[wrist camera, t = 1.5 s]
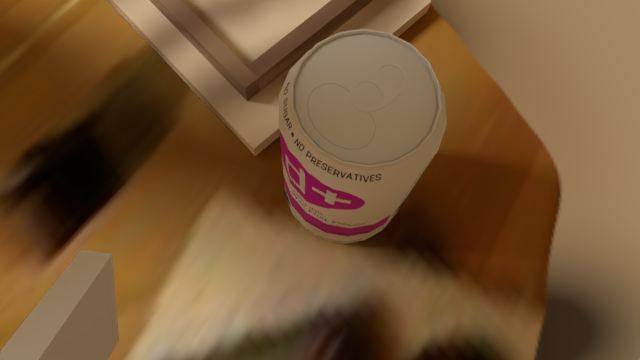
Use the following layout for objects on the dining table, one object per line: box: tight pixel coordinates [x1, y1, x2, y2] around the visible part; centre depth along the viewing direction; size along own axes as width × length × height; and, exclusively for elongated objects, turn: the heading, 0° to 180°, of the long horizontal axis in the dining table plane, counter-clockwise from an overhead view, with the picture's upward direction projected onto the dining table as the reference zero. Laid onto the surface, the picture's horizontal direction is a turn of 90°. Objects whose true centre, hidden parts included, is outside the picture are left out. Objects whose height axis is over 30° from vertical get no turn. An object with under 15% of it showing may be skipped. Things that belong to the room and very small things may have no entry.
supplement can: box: [279, 29, 447, 244], centre depth 33 cm, size 8×8×15 cm
